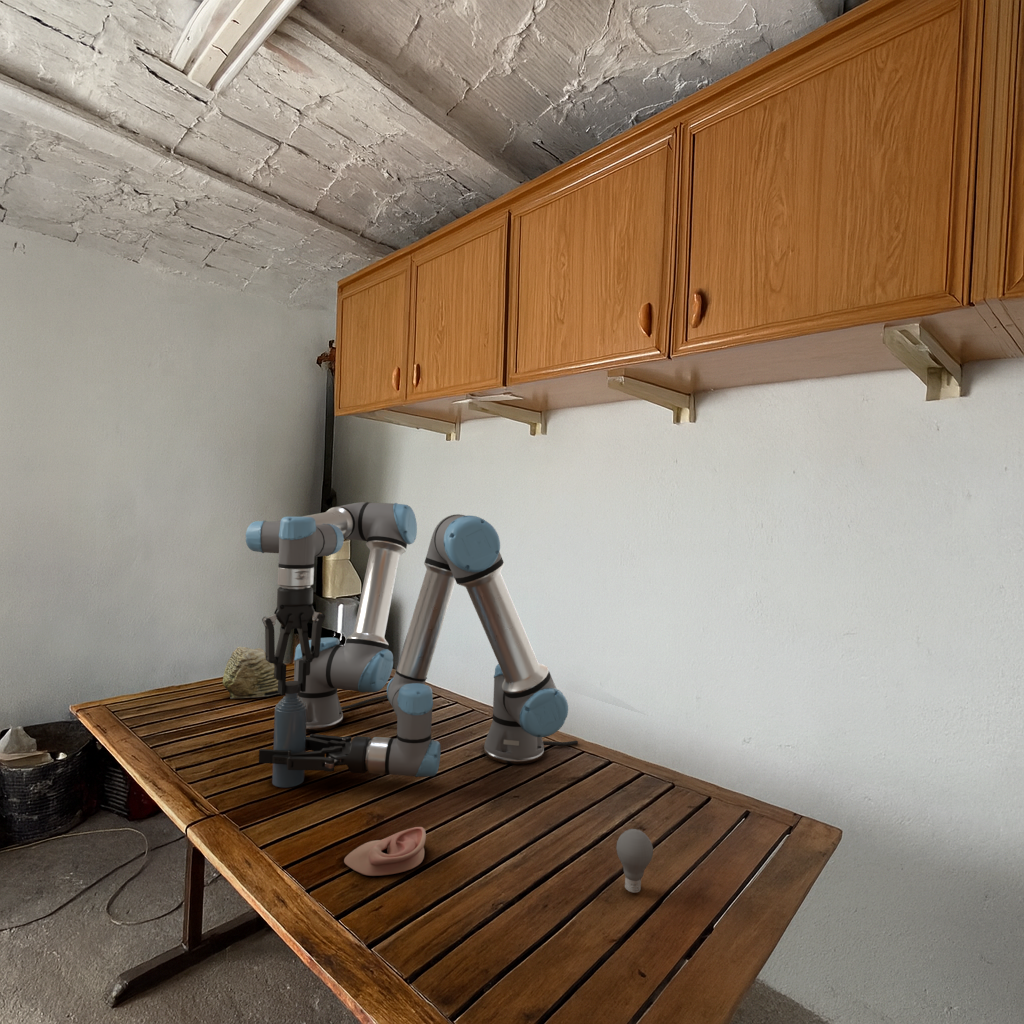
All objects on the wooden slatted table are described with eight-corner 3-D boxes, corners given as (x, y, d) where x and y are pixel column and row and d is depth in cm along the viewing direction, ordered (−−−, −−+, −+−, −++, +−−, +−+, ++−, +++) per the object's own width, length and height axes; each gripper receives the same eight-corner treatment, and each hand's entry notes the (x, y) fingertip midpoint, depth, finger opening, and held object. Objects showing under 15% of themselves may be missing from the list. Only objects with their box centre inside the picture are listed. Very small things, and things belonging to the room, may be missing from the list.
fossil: (218, 695, 195) (220, 647, 195) (278, 685, 208) (279, 640, 207) (228, 703, 189) (230, 653, 188) (289, 692, 201) (290, 645, 201)
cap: (280, 694, 138) (280, 685, 138) (284, 688, 142) (284, 680, 142) (299, 693, 139) (299, 685, 139) (302, 688, 142) (302, 680, 142)
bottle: (290, 771, 145) (293, 679, 145) (310, 779, 142) (314, 684, 141) (265, 782, 139) (268, 686, 139) (286, 790, 136) (289, 692, 136)
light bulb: (610, 879, 108) (613, 822, 108) (644, 879, 109) (647, 822, 109) (619, 902, 102) (622, 840, 102) (655, 901, 103) (658, 840, 103)
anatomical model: (336, 847, 108) (365, 815, 119) (335, 870, 108) (364, 836, 119) (410, 859, 105) (432, 825, 116) (409, 883, 105) (431, 846, 116)
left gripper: (261, 590, 132) (257, 702, 132) (338, 586, 142) (334, 690, 142) (250, 586, 137) (247, 693, 138) (325, 582, 148) (321, 682, 148)
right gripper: (356, 792, 130) (246, 785, 131) (379, 754, 150) (284, 748, 151) (357, 756, 130) (247, 749, 131) (381, 722, 150) (285, 717, 150)
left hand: (291, 691), depth 140 cm, fingers closed on cap, 4 cm apart
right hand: (267, 749), depth 141 cm, fingers closed on bottle, 7 cm apart
